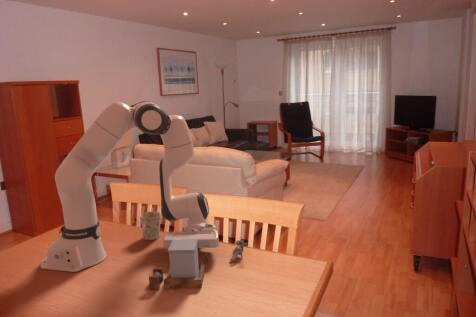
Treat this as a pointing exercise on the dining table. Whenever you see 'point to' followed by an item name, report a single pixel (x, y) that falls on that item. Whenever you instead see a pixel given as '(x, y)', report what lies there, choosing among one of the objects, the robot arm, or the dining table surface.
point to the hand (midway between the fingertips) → (188, 250)
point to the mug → (150, 225)
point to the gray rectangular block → (184, 259)
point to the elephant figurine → (238, 249)
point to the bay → (176, 279)
